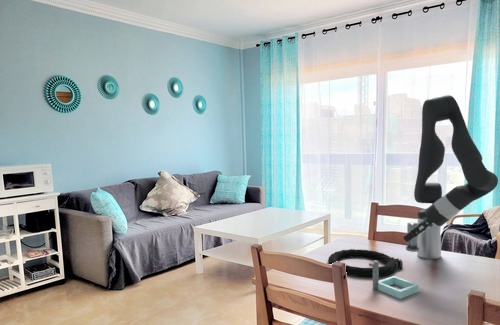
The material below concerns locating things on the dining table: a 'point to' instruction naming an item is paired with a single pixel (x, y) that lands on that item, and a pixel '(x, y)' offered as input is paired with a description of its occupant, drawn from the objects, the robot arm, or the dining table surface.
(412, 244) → the pin
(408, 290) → the teal rectangular frame
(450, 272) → the dining table surface
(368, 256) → the cable lock
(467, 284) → the dining table surface
